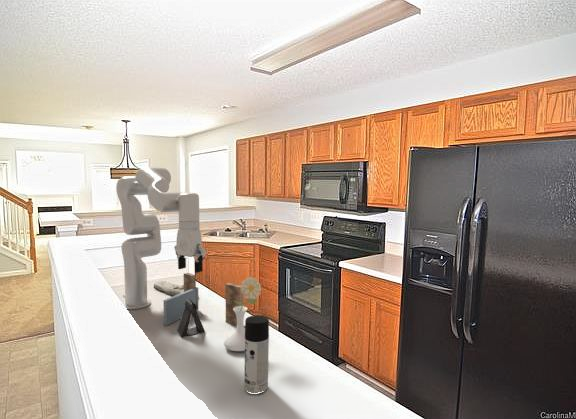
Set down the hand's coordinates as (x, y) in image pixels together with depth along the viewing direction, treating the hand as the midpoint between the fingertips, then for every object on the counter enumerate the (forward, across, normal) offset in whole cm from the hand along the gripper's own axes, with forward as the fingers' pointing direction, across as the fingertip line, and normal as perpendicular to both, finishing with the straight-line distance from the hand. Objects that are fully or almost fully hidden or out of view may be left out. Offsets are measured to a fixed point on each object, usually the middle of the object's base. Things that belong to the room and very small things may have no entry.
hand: (190, 270), depth 131 cm
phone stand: (+24, 0, 0) cm, 25 cm away
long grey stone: (+24, -46, +26) cm, 58 cm away
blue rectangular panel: (+23, -15, +7) cm, 29 cm away
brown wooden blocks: (+24, -7, +16) cm, 30 cm away
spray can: (+25, +44, -13) cm, 52 cm away
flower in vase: (+25, +24, +3) cm, 35 cm away
